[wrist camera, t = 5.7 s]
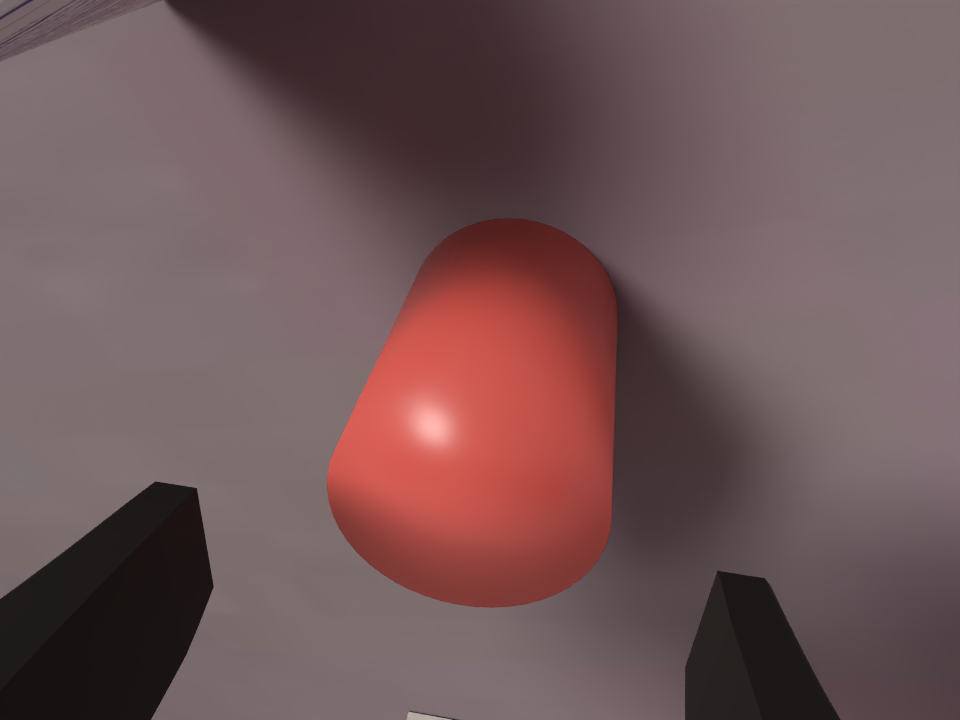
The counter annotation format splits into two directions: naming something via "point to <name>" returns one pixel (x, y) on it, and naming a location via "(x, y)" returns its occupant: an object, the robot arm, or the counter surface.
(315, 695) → the counter surface
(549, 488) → the cap
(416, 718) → the box
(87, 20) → the medicine box
